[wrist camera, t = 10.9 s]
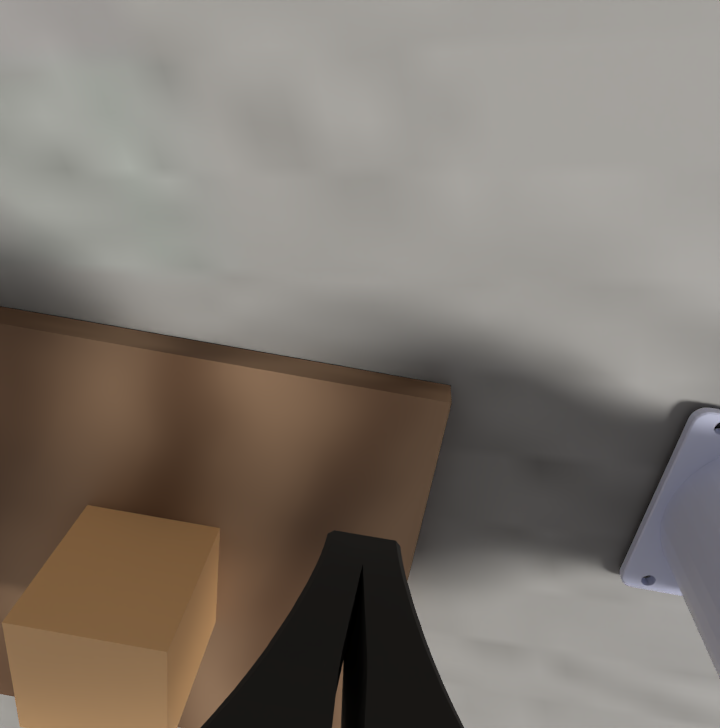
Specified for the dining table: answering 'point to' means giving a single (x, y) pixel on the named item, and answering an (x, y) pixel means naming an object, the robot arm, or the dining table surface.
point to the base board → (206, 465)
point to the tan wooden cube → (114, 623)
